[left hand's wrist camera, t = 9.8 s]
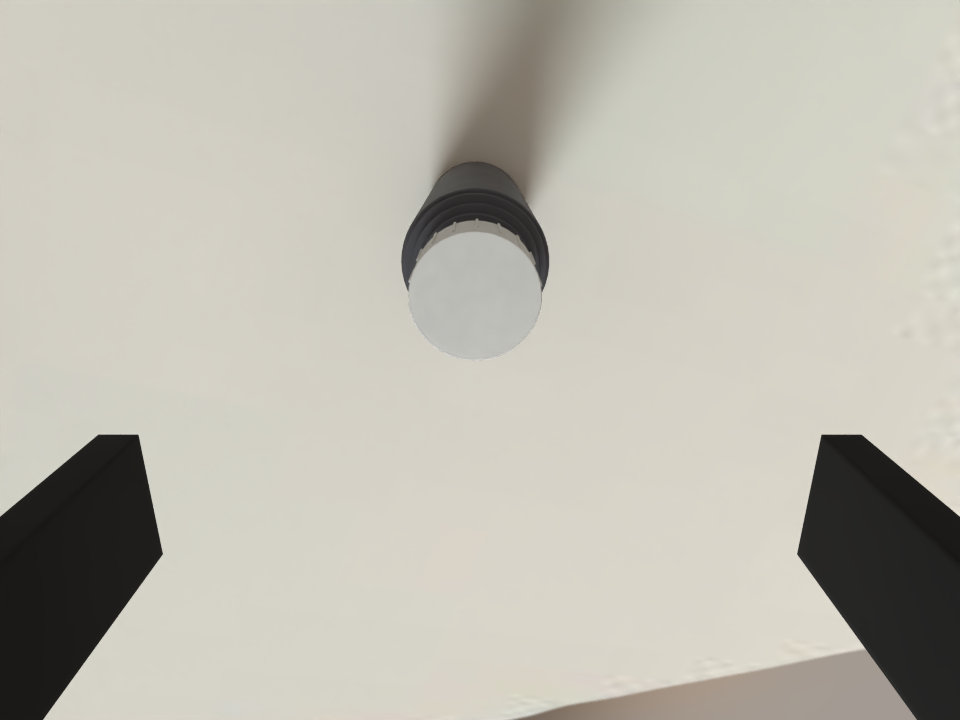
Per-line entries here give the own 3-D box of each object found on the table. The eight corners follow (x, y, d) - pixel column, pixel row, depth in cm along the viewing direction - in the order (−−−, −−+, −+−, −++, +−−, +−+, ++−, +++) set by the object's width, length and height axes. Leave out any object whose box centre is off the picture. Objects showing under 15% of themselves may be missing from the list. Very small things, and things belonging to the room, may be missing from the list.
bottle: (428, 257, 38) (387, 375, 21) (428, 160, 36) (383, 200, 19) (520, 259, 38) (557, 380, 21) (525, 163, 36) (571, 206, 19)
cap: (413, 338, 22) (407, 360, 20) (413, 216, 21) (406, 226, 19) (533, 342, 22) (538, 364, 20) (540, 219, 21) (547, 231, 19)
